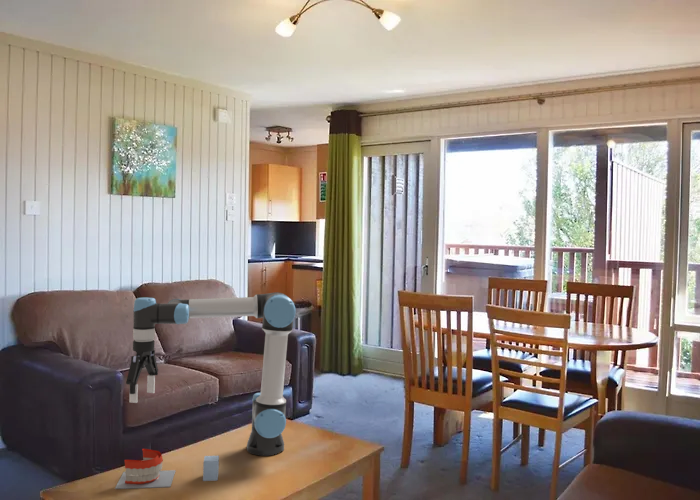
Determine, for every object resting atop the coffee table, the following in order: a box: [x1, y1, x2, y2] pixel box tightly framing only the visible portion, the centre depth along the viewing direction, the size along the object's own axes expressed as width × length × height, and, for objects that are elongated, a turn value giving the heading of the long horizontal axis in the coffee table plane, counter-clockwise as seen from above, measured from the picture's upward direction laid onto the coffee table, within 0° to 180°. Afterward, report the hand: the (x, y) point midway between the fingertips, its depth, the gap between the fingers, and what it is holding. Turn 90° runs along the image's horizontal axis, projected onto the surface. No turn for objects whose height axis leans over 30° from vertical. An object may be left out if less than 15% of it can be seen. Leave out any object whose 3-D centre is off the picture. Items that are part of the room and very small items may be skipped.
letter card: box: [114, 469, 176, 490], centre depth 206 cm, size 18×14×1 cm
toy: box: [124, 448, 164, 484], centre depth 206 cm, size 12×10×8 cm
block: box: [202, 455, 220, 482], centre depth 209 cm, size 5×5×7 cm
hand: (142, 397), depth 216 cm, fingers open, 13 cm apart
